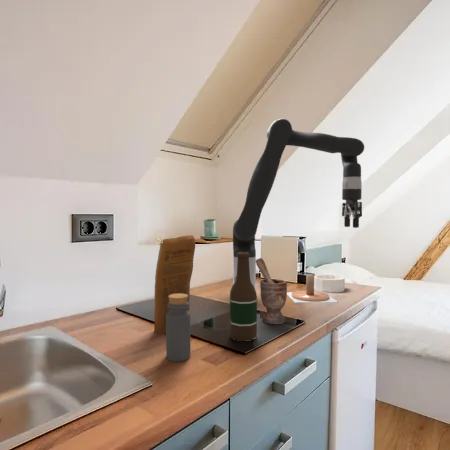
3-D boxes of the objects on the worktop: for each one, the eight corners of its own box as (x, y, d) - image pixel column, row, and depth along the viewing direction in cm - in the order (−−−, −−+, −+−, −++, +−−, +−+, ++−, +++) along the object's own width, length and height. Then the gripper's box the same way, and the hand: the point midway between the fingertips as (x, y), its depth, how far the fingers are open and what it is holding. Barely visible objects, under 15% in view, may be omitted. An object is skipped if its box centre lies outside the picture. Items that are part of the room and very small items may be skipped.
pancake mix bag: (202, 320, 110) (202, 235, 109) (162, 338, 94) (161, 238, 93) (186, 317, 114) (186, 234, 113) (144, 334, 98) (144, 237, 97)
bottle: (191, 351, 85) (191, 292, 85) (189, 361, 79) (189, 298, 79) (168, 351, 85) (167, 292, 84) (164, 362, 79) (164, 298, 78)
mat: (294, 303, 130) (294, 302, 130) (285, 293, 147) (285, 292, 147) (338, 303, 131) (338, 301, 131) (323, 293, 148) (323, 291, 148)
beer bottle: (259, 334, 97) (259, 251, 97) (254, 344, 90) (254, 254, 89) (233, 331, 100) (233, 250, 99) (226, 341, 92) (226, 253, 91)
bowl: (319, 293, 147) (319, 280, 147) (310, 287, 160) (310, 274, 160) (348, 293, 147) (349, 279, 147) (337, 287, 160) (337, 274, 160)
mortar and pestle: (247, 321, 109) (247, 259, 109) (258, 314, 117) (258, 256, 116) (280, 327, 103) (281, 262, 103) (290, 319, 111) (290, 259, 110)
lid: (296, 301, 131) (296, 278, 131) (287, 292, 146) (288, 272, 146) (334, 301, 132) (334, 278, 132) (321, 292, 147) (322, 271, 147)
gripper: (336, 189, 148) (336, 226, 148) (350, 187, 133) (349, 227, 134) (353, 189, 148) (352, 226, 148) (368, 187, 134) (368, 227, 134)
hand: (351, 227), depth 141 cm, fingers open, 8 cm apart
